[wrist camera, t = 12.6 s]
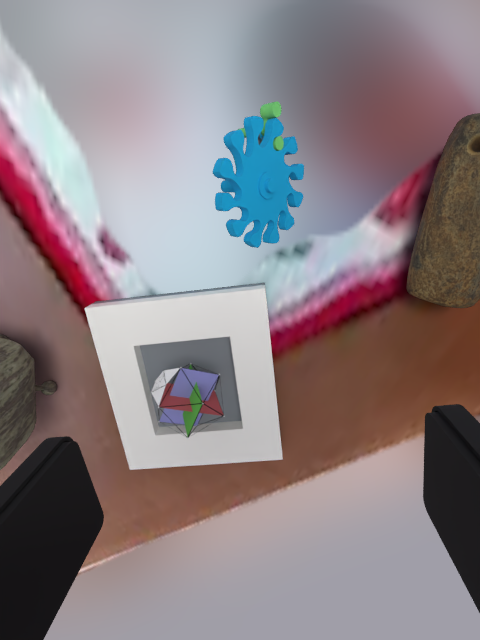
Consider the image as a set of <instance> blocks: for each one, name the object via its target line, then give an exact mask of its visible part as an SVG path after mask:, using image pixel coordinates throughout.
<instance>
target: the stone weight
mask: <svg viewBox="0 0 480 640" xmlns="http://www.w3.org/2000/svg"><path fill="white" fill-rule="evenodd" d="M406 287H407V291H408V293H409V294H411V295H413V296H415V297H417V298H419V299H422V300H426V301H429V302H432V303H435V304H438V305H441V306H446V307H454V308H467V307H471V306H473V305H474V304H475V303H476V302H477V301H478V300H479V299H480V113H478V114H472V115H468V116H466V117H464V118H462V119H461V120H460V121H459V122H458V123H457V124H456V126H455V127H454V129H453V131H452V133H451V134H450V136H449V138H448V140H447V142H446V145H445V147H444V149H443V152H442V155H441V157H440V160H439V163H438V165H437V169H436V172H435V175H434V179H433V182H432V186H431V189H430V193H429V196H428V199H427V202H426V205H425V209H424V212H423V215H422V219H421V221H420V225H419V229H418V232H417V236H416V240H415V245H414V248H413V252H412V256H411V261H410V266H409V271H408V277H407V286H406Z"/></svg>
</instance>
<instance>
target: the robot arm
mask: <svg viewBox="0 0 480 640" xmlns="http://www.w3.org/2000/svg"><path fill="white" fill-rule="evenodd" d="M424 446H425V447H424V487H423V489H424V490H423V498H424V504H425V507H426V510H427V513H428V515H429V516H430V519H431V520H432V522H433V524H434V526H435V528H436V530H437V532H438V534H439V536H440V538H441V540H442V542H443V543H444V545H445V547H446V549H447V551H448V553H449V555H450V557H451V559H452V561H453V563H454V565H455V566H456V568H457V570H458V572H459V574H460V576H461V578H462V580H463V582H464V584H465V585H466V587H467V589H468V591H469V593H470V595H471V597H472V599H473V601H474V603H475V605H476V607H477V609H478V610H479V612H480V423H479V422H478V421H477V420H476V419H475V418H474V417H473V416H472V415H471V414H470V413H469V412H468V411H467V410H466V409H465V408H464V407H463V406H462V405H459V404H456V405H444V406H435V407H433V409H432V413H427V414H426V415H425V444H424ZM103 519H104V515H103V511H102V508H101V505H100V503H99V500H98V497H97V494H96V492H95V489H94V486H93V483H92V481H91V478H90V475H89V473H88V470H87V467H86V464H85V462H84V459H83V456H82V454H81V451H80V448H79V445H78V444H77V443H76V442H75V441H73V439H72V438H70V437H67V436H66V437H54V438H48V439H46V440H44V441H43V442H42V443H41V444H40V445H39V446H38V447H37V448H36V449H35V450H34V452H33V453H32V454H31V455H30V456H29V457H28V458H27V459H26V460H25V461H24V462H23V463H22V464H21V465H20V466H19V467H18V468H17V469H16V470H15V471H14V472H13V473H12V474H11V476H10V477H9V478H8V479H7V480H6V481H5V482H4V483H3V484H2V485H1V486H0V640H43V639H44V637H45V635H46V634H47V631H48V630H49V628H50V626H51V624H52V622H53V620H54V618H55V616H56V614H57V612H58V610H59V609H60V606H61V605H62V603H63V601H64V599H65V597H66V595H67V593H68V591H69V589H70V587H71V585H72V583H73V582H74V580H75V578H76V576H77V574H78V572H79V570H80V568H81V566H82V564H83V562H84V560H85V558H86V557H87V555H88V553H89V551H90V549H91V547H92V545H93V543H94V541H95V539H96V537H97V535H98V533H99V531H100V530H101V527H102V525H103Z"/></svg>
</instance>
